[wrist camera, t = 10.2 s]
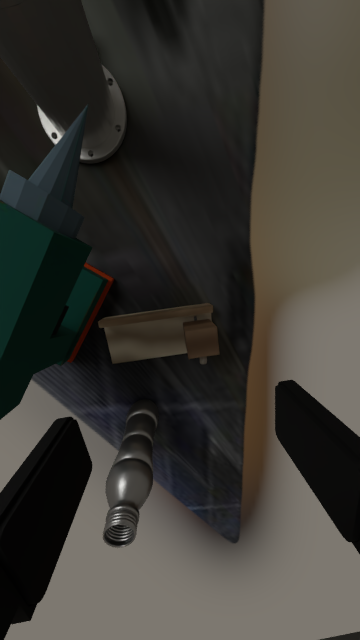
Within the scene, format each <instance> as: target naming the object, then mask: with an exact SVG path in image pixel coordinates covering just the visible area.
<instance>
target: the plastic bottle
mask: <svg viewBox="0 0 360 640" xmlns="http://www.w3.org/2000/svg"><path fill="white" fill-rule="evenodd" d="M158 420H159V412H158V408H157V406H156V404H155V403H153V402H152V401H150V400H147V399H143V400H139V401H137V402H135V403H134V404H133V405H132V406H131V408H130V409H129V411H128V413H127V418H126V428H125V433H124V438H123V441H122V444H121V446H120V449H119V452H118V455H117V457H116V459H115V461H114V463H113V465H112V468H111V470H110V472H109V475H108V477H107V481H106V496H107V500H108V503H109V507H110V510H109V511H108V513H107V517H106V524H105V528H104V532H103V540H104V541H105V543H107V544H108V545H110V546H112V547H125V546H127V545H129V544H131V543H132V542H133V541H134V539H135V536H136V531H137V524H138V521H139V509H140V508H141V507H142V506H143V504H144V502H145V501H146V499H147V498H148V496H149V494H150V491H151V488H152V485H153V462H152V453H153V440H154V435H155V430H156V427H157V424H158Z"/></svg>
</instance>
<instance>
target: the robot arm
mask: <svg viewBox="0 0 360 640" xmlns="http://www.w3.org/2000/svg"><path fill="white" fill-rule="evenodd" d="M0 57H1V58H2V60H3V61H4V62H5V63H6V65H7V66H8V67H9V69H10V70H11V71H12V73H13V74H14V75H15V77H16V78H17V79H18V80H19V82H20V83H21V84H22V86H23V87H24V88H25V90H26V91H27V92H28V93H29V95H30V96H31V97H32V99H33V100H34V101H35V103H36V104H37V108H38V113H39V117H40V120H41V123H42V126H43V128H44V130H45V132H46V134H47V135H48V136H49V138H50V139H51V141H52V142H53V143H54V144H55V145H56V144H57V143H58V141H59V140H60V139H61V138H62V136H63V135H64V134H65V132H66V131H67V130H68V129H69V127H70V126H71V125H72V124H73V122H74V121H75V120H76V118H77V117H78V116H79V115H80V113H81V112H82V111H83V110H84V108H85V107H86V106H87V104H88V103H89V105H88V111H87V117H86V124H85V130H84V136H83V143H82V149H81V156H80V162H82V163H88V164H90V163H98V162H102V161H104V160H106V159H108V158H110V157H111V156H112V155H113V154H114V153H115V152H116V151H117V150H118V148H119V147H120V146H121V144H122V141H123V139H124V136H125V132H126V127H127V113H126V107H125V103H124V99H123V96H122V92H121V90H120V88H119V86H118V84H117V82H116V80H115V79H114V77H113V76H112V74H111V73H110V72H109V71H108V70H107V69H106V68H105V67H104V66H103V65H102V64H101V61H100V58H99V55H98V52H97V49H96V46H95V43H94V40H93V36H92V33H91V30H90V27H89V24H88V21H87V18H86V15H85V12H84V8H83V5H82V2H81V0H0ZM119 131H120V132H119ZM92 156H93V157H92ZM275 410H276V411H275V431H276V435H277V438H278V439H279V441H280V443H281V444H282V446H283V447H284V448H285V450H286V452H287V453H288V455H289V456H290V457H291V459H292V461H293V462H294V464H295V465H296V467H297V468H298V470H299V471H300V473H301V474H302V476H303V477H304V478H305V480H306V482H307V483H308V485H309V486H310V488H311V489H312V491H313V492H314V493H315V495H316V497H317V498H318V500H319V501H320V503H321V504H322V506H323V507H324V509H325V510H326V512H327V513H328V515H329V516H330V518H331V520H332V521H333V523H334V524H335V526H336V527H337V529H338V530H339V532H340V533H341V534H342V536H343V537H344V538H345V539H346V540H347V541H348V542H352V543H353V545H354V546H355V548H356V549H357V551H358V552H359V554H360V437H359V436H358V435H357V434H355V433H354V432H353V431H352V430H351V429H350V428H348V427H347V426H346V425H345V424H344V423H343V422H341V421H340V420H339V419H338V418H336V416H334V415H333V414H332V413H331V412H330V411H329V410H327V409H326V408H325V407H324V406H323V405H322V404H320V403H319V402H318V401H317V400H316V399H315V398H313V397H312V396H311V395H310V394H309V393H308V392H306V391H305V390H304V389H303V388H302V387H301V386H299V385H298V384H297V383H296V382H295V381H293V380H287V381H281V382H279V383H278V386H276V387H275ZM91 471H92V461H91V459H90V456H89V453H88V451H87V447H86V445H85V442H84V439H83V437H82V434H81V431H80V428H79V425H78V422H77V421H76V420H74V419H73V418H72V417H65V418H60V419H57V420H55V421H54V423H53V424H52V425H51V427H50V428H49V429H48V431H47V432H46V433H45V435H44V436H43V437H42V438H41V440H40V441H39V443H38V444H37V445H36V446H35V448H34V449H33V450H32V452H31V453H30V454H29V456H28V457H27V458H26V460H25V461H24V462H23V464H22V465H21V466H20V468H19V469H18V470H17V472H16V473H15V474H14V475H13V477H12V478H11V479H10V481H9V482H8V483H7V485H6V486H5V487H4V489H3V490H2V492H1V493H0V640H4V638H5V636H6V634H7V632H8V629H9V627H10V625H11V624H16V623H21V622H26V621H30V620H31V618H32V615H33V613H34V610H35V608H36V605H37V603H39V602H40V601H41V600H42V598H43V596H44V595H45V592H46V590H47V587H48V585H49V582H50V579H51V577H52V574H53V572H54V569H55V566H56V564H57V561H58V559H59V556H60V553H61V551H62V548H63V545H64V542H65V540H66V537H67V535H68V532H69V529H70V527H71V524H72V522H73V519H74V516H75V514H76V511H77V509H78V506H79V503H80V501H81V498H82V495H83V493H84V490H85V487H86V485H87V482H88V480H89V477H90V474H91ZM320 640H360V632H355V633H350V634H345V635H340V636H336V637H330V638H325V639H320Z"/></svg>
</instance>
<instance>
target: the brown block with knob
mask: <svg viewBox="0 0 360 640" xmlns="http://www.w3.org/2000/svg"><path fill="white" fill-rule="evenodd" d="M183 330H184V337H185V345H186V349H187V354H188V358H189V359H191V358H198V357H199V358H200V364H206V363H207V357H206V356H212V355H219V344H218V332H217V326H216V325H215V324H214V323H213V322H212V321H211V320H210V319H203V320H196V321H189V322H183Z"/></svg>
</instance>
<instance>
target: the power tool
mask: <svg viewBox="0 0 360 640" xmlns="http://www.w3.org/2000/svg"><path fill="white" fill-rule="evenodd" d="M88 105H89V103H88V104H87V106H86V107H85V108H84V110H83V111H82V112H81V113H80V115H79V116H78V117H77V118H76V120H75V121H74V122H73V124H72V125H71V126H70V127H69V129H68V130H67V131H66V132H65V134H64V135H63V136H62V138H61V139H60V140H59V141H58V143H57V144H56V145H55V146H54V148H53V149H52V150H51V152H50V153H49V154H48V155H47V157H46V158H45V159H44V160H43V162H42V163H41V164H40V166H39V167H38V168H37V169H36V171H35V172H34V173H33V174H32V176H31V177H30V178H29V180H26V179H25V178H23V177H21V176H19V175H18V174H16V173H14V172H13V171H11V170H9V172H8V174H7V177H6V180H5V183H4V186H3V189H2V191H1V194H0V420H1V418H3V417H4V416H5V415H7V414H8V413H9V412H10V411H11V410H13V409H14V408H15V407H16V406H17V405H19V404H20V402H21V400H22V398H23V395H24V393H25V391H26V389H27V387H28V385H29V382H30V380H31V378H32V376H33V374H35V373H37V372H39V371H41V370H43V369H45V368H47V367H49V366H51V365H53V364H58V365H60V366H61V365H63V364H64V363H65V362H66V361H68V362H70V363H71V362H72V361H73V360H74V359H75V357H76V355H77V353H78V351H79V349H80V347H81V345H82V343H83V341H84V339H85V337H86V335H87V333H88V331H89V329H90V327H91V325H92V323H93V321H94V319H95V317H96V315H97V313H98V311H99V309H100V307H101V305H102V303H103V301H104V299H105V297H106V295H107V293H108V291H109V289H110V287H111V285H112V283H113V281H114V278H112V277H110V276H109V275H107V274H105V273H103V272H101V271H100V270H98V269H96V268H94V267H93V266H91V265H89V264H87V263H86V260H87V258H88V256H89V254H90V251H91V249H92V247H91V246H89V245H87V244H85V243H84V242H82V241H80V240H79V239H77V238H76V236H77V234H78V231H79V229H80V227H81V225H82V222H83V220H84V217H83V216H82V215H81V214H79V213H78V212H76V211H75V210H73V209H72V206H73V200H74V194H75V187H76V181H77V175H78V168H79V162H80V156H81V149H82V143H83V136H84V130H85V124H86V117H87V111H88Z"/></svg>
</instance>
